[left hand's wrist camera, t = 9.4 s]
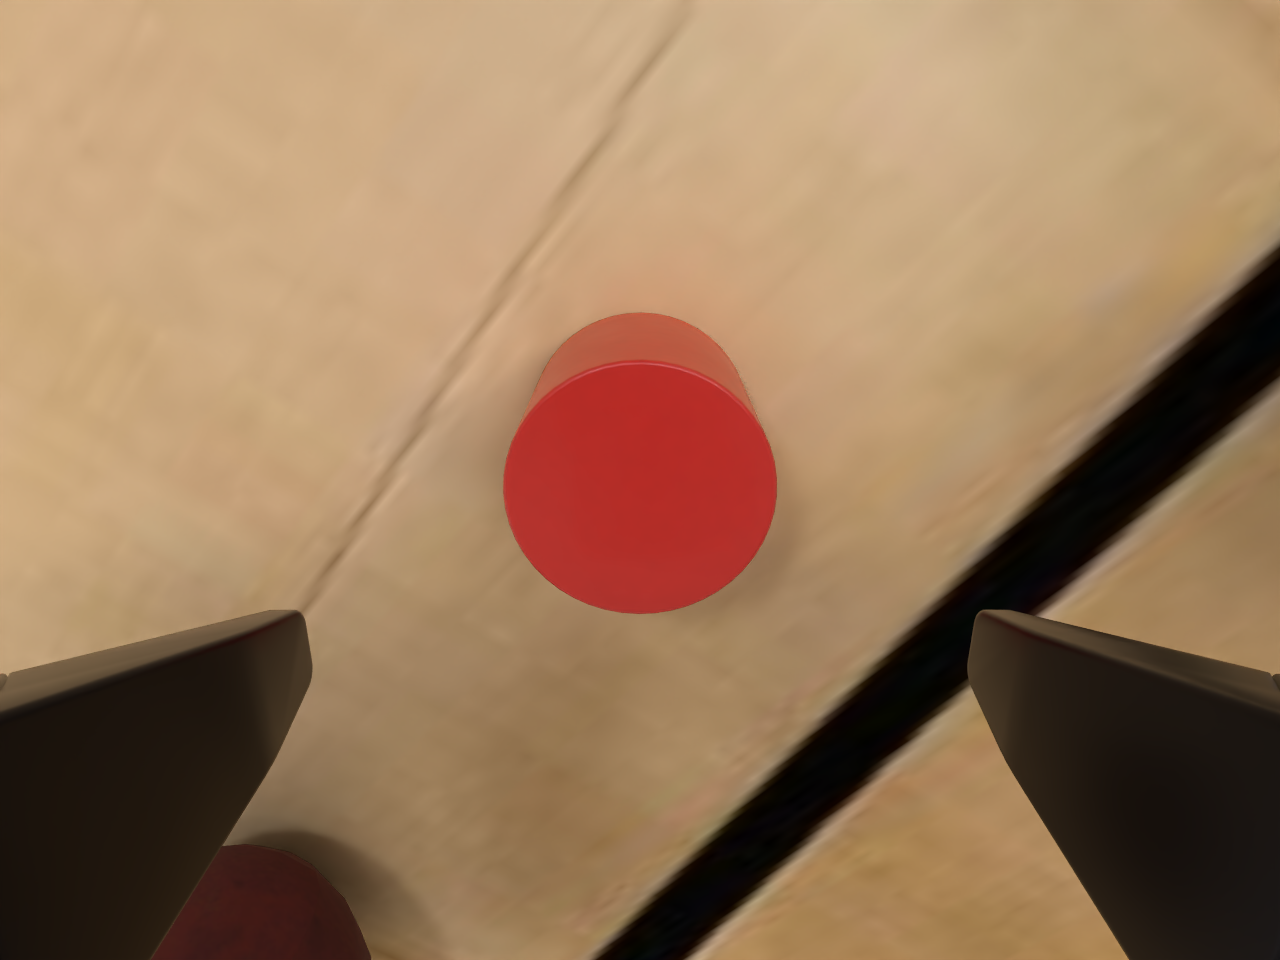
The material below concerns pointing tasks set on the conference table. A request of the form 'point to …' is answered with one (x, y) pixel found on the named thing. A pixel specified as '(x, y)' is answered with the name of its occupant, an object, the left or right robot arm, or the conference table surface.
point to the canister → (640, 468)
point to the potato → (263, 912)
